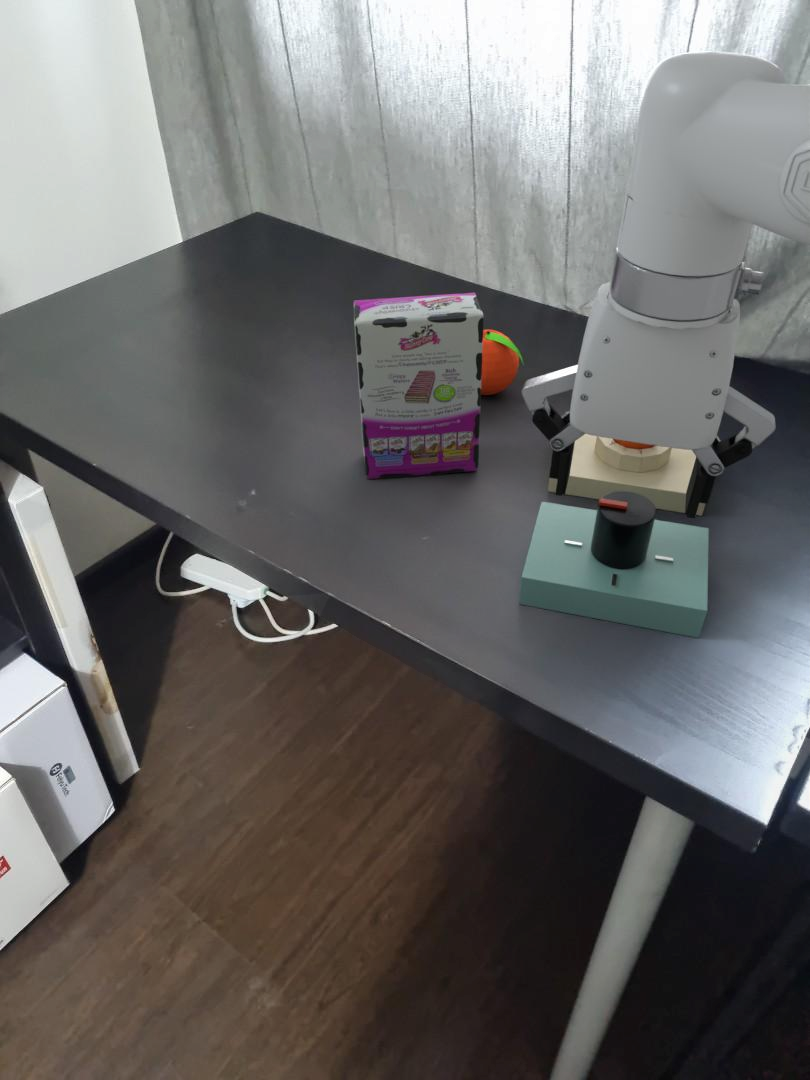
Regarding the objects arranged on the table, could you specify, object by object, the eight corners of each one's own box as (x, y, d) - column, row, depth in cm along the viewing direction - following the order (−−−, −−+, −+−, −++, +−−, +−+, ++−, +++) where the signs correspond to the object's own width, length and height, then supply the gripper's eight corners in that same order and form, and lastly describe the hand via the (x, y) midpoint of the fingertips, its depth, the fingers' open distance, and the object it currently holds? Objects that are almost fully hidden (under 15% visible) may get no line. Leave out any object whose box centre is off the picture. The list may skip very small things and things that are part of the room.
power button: (657, 430, 79) (660, 414, 78) (654, 453, 76) (658, 437, 75) (614, 424, 80) (617, 409, 79) (610, 447, 77) (613, 431, 76)
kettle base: (703, 449, 83) (712, 415, 80) (702, 516, 75) (712, 480, 72) (563, 429, 86) (568, 396, 83) (547, 491, 78) (552, 456, 75)
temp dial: (647, 538, 68) (658, 492, 65) (644, 574, 65) (655, 526, 61) (593, 529, 69) (601, 483, 66) (587, 564, 66) (595, 517, 62)
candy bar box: (470, 444, 84) (477, 290, 73) (478, 473, 80) (487, 314, 70) (361, 451, 83) (352, 296, 73) (363, 480, 79) (354, 322, 69)
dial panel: (701, 555, 71) (709, 526, 69) (698, 638, 63) (708, 609, 61) (538, 527, 74) (541, 499, 72) (518, 604, 67) (521, 575, 64)
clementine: (536, 389, 92) (542, 330, 87) (504, 416, 88) (509, 356, 83) (475, 369, 96) (478, 311, 91) (442, 394, 91) (443, 335, 87)
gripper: (813, 273, 53) (742, 486, 64) (544, 244, 57) (521, 450, 68) (824, 325, 47) (744, 547, 59) (525, 289, 51) (504, 505, 62)
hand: (625, 495), depth 63 cm, fingers open, 9 cm apart
